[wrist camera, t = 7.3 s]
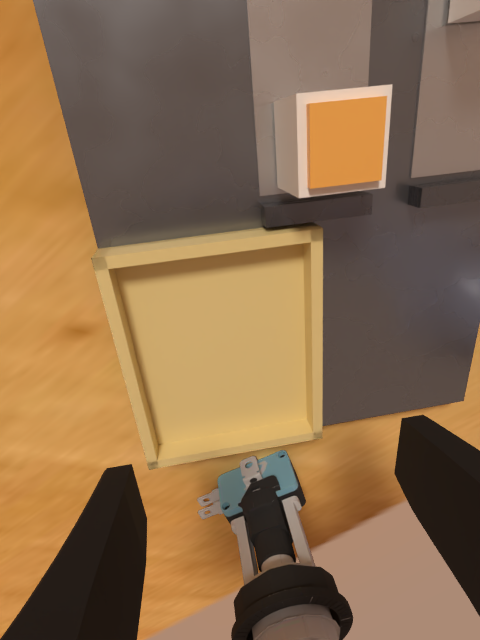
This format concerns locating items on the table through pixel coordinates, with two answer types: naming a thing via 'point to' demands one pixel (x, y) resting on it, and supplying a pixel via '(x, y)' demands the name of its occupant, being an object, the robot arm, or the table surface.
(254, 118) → the breaker panel
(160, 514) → the table surface
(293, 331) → the tray
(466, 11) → the block
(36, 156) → the table surface
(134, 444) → the table surface
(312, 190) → the breaker
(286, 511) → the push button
